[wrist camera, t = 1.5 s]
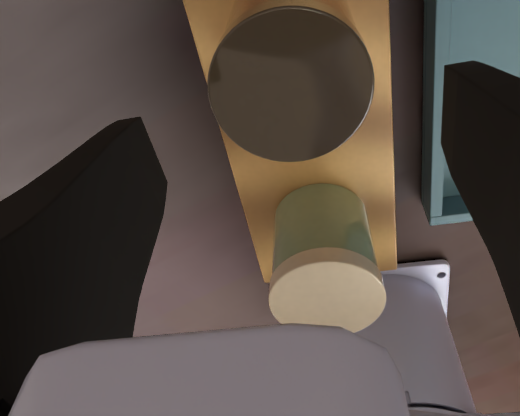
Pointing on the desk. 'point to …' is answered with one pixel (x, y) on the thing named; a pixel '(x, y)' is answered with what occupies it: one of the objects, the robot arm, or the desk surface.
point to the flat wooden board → (331, 164)
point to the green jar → (325, 260)
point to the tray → (434, 58)
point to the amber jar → (290, 78)
